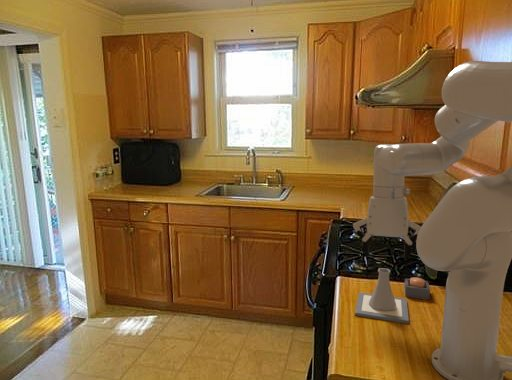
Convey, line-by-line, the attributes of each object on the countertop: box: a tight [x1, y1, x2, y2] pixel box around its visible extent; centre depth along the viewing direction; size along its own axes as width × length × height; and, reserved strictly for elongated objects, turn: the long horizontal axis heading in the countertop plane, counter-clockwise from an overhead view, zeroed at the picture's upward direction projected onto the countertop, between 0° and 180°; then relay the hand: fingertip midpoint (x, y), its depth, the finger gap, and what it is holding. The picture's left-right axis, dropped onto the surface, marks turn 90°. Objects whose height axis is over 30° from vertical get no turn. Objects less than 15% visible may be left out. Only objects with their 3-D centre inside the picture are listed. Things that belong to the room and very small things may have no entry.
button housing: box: [403, 278, 431, 300], centre depth 110 cm, size 6×6×3 cm
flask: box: [369, 267, 396, 311], centre depth 100 cm, size 7×7×10 cm
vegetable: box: [424, 264, 438, 280], centre depth 120 cm, size 4×4×20 cm
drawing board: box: [354, 292, 410, 325], centre depth 101 cm, size 13×13×1 cm
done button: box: [409, 277, 426, 288], centre depth 110 cm, size 4×4×3 cm
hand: (386, 256), depth 98 cm, fingers open, 9 cm apart
